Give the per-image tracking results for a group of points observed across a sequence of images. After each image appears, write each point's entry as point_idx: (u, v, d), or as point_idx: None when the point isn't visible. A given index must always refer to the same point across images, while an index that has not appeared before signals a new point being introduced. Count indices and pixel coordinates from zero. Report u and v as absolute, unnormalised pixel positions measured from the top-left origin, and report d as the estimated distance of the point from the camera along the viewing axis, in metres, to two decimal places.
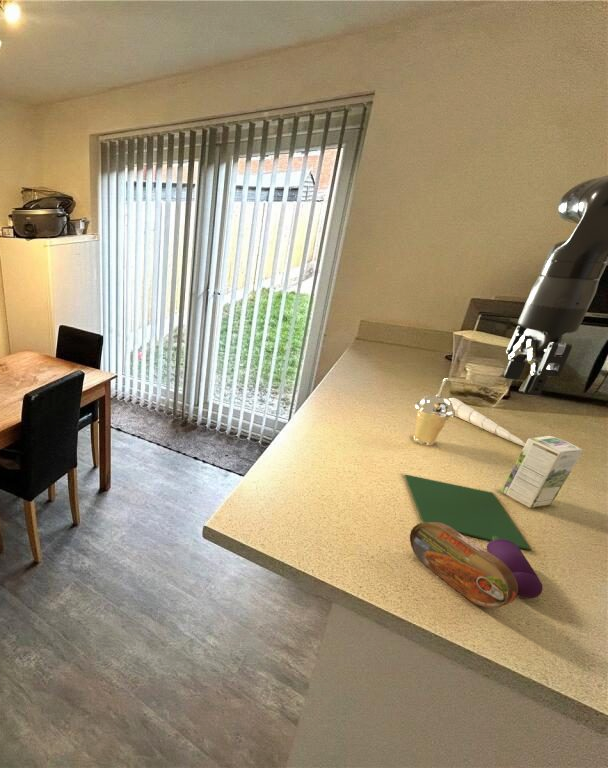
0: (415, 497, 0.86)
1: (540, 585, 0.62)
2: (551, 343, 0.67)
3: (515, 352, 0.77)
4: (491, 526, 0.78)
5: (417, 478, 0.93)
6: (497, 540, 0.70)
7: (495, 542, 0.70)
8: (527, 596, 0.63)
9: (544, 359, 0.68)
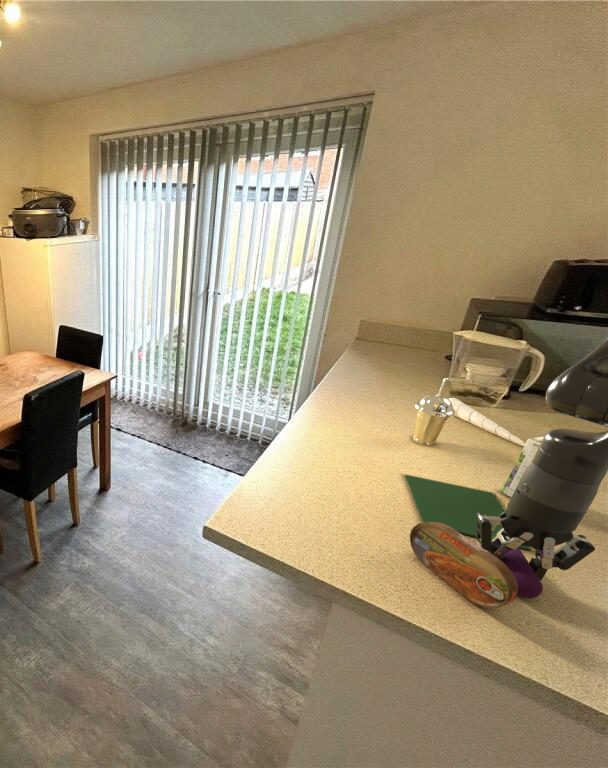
0: (415, 497, 0.86)
1: (540, 585, 0.62)
2: (592, 547, 0.60)
3: None
4: None
5: (417, 478, 0.93)
6: None
7: None
8: (527, 596, 0.63)
9: (576, 558, 0.62)
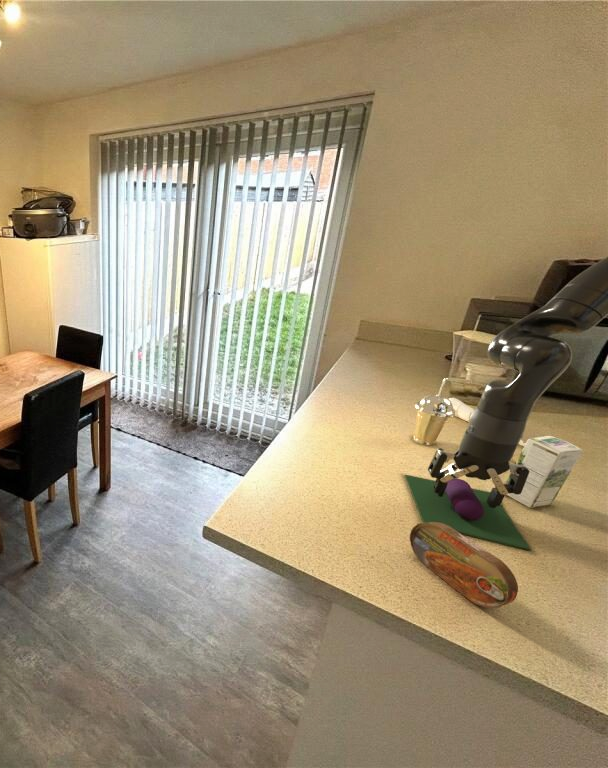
0: (415, 497, 0.86)
1: (481, 509, 0.78)
2: (526, 469, 0.75)
3: None
4: (491, 526, 0.78)
5: (417, 478, 0.93)
6: (452, 479, 0.86)
7: (450, 481, 0.86)
8: (472, 518, 0.78)
9: (521, 482, 0.76)
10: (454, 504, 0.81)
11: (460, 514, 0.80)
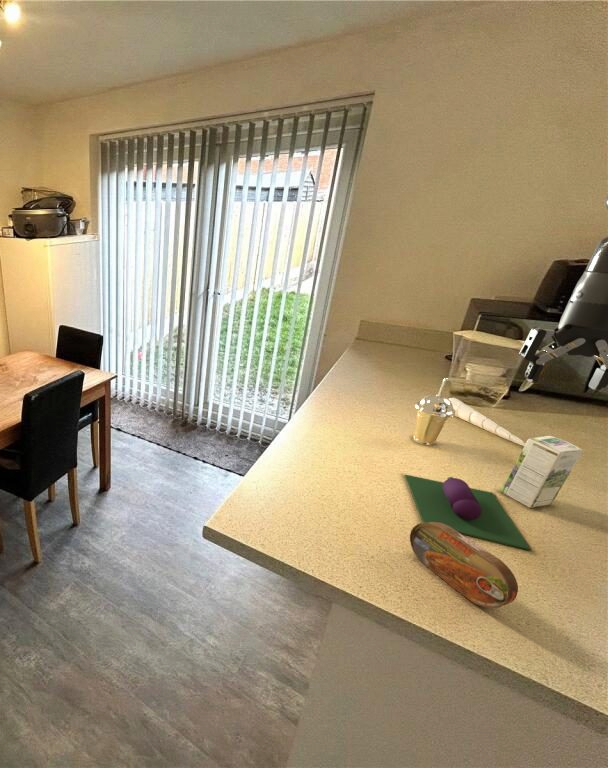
0: (415, 497, 0.86)
1: (478, 507, 0.78)
2: None
3: None
4: (491, 526, 0.78)
5: (417, 478, 0.93)
6: (448, 479, 0.86)
7: (447, 481, 0.86)
8: (470, 518, 0.78)
9: None
10: (452, 505, 0.81)
11: (458, 515, 0.80)
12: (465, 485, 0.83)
